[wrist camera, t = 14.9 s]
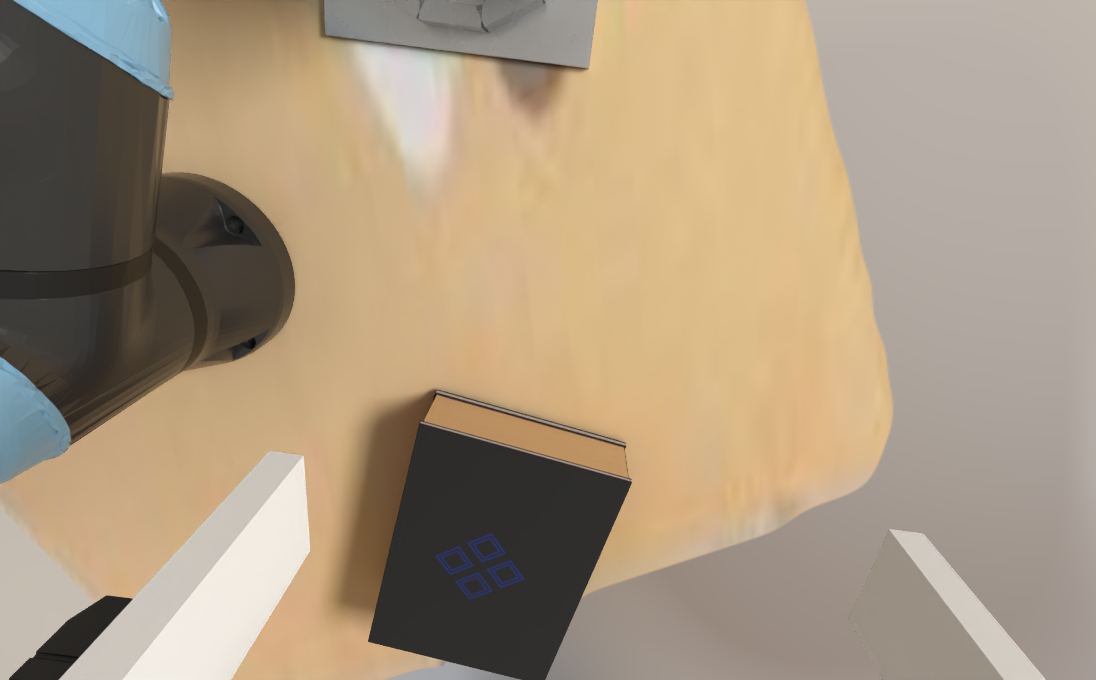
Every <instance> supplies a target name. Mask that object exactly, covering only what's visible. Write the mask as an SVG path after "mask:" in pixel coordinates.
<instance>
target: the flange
mask: <svg viewBox="0 0 1096 680" xmlns="http://www.w3.org/2000/svg"><path fill="white" fill-rule="evenodd" d="M597 2H598V0H324V17H325V35H328V36H334V37H342V38H350V39H358V40H366V41H374V42H381V43H389V44H397V45H405V46H413V47H421V48H429V49H436V50H444V51H452V52H460V53H468V54H476V55H484V56H492V57H499V58H507V59H515V60H523V61H531V62H539V63H547V64H554V65H562V66H570V67H578V68H586V69H589V63H590V55H591V48H592V40H593V32H594V25H595V17H596V10H597Z"/></svg>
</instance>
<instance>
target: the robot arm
mask: <svg viewBox="0 0 1096 680" xmlns="http://www.w3.org/2000/svg"><path fill="white" fill-rule="evenodd" d="M171 34H172V28H171V21H170V17H169V14H168V12H167V10H166V8H165V6H164V4H163V2H162V1H161V0H0V484H1V483H4V482H6V481H8V480H10V479H12V478H14V477H15V476H17V475H19V474H21V473H22V472H24V471H26V470H28V469H29V468H31V467H33V466H35V465H36V464H38V463H40V462H42V461H44V460H47V459H51V458H55V457H57V456H59V455H61V454H62V453H64V452H65V451H66V450H67V449H68V447H69V446H70V445H72V444H73V443H75V442H76V441H78V440H79V439H81V438H82V437H84V436H85V435H87V434H88V433H90V432H91V431H93V430H94V429H96V428H97V427H99V426H100V425H102V424H103V423H105V422H106V421H108V420H109V419H111V418H112V417H114V416H115V415H117V414H118V413H120V412H121V411H123V410H124V409H126V408H127V407H129V406H130V405H132V404H133V403H135V402H136V401H138V400H139V399H141V398H142V397H144V396H145V395H147V394H148V393H150V392H151V391H153V390H154V389H156V388H157V387H159V386H160V385H162V384H164V383H165V382H167V381H168V380H170V379H171V378H173V377H174V376H176V375H177V374H179V373H180V372H182V371H186V370H191V369H196V368H201V367H207V366H212V365H217V364H223V363H228V362H232V361H235V360H238V359H241V358H243V357H245V356H247V355H249V354H251V353H253V352H254V351H256V350H257V349H259V348H260V347H261V346H263V345H264V344H266V343H267V342H268V341H270V340H271V339H272V338H273V337H275V336H276V335H277V334H278V332H279V331H280V330H281V329H282V328H283V326H284V324H285V323H286V321H287V319H288V317H289V315H290V312H291V309H292V306H293V301H294V294H295V280H294V272H293V267H292V263H291V259H290V256H289V253H288V251H287V249H286V246H285V244H284V242H283V240H282V238H281V237H280V235H279V233H278V232H277V230H276V229H275V227H274V226H273V224H272V223H271V222H270V220H269V219H268V218H267V217H266V216H265V214H264V213H263V212H262V211H261V210H260V209H259V208H258V207H257V206H256V205H255V204H253V203H252V202H251V201H250V200H249V199H247V198H246V197H245V196H243V195H242V194H241V193H239V192H238V191H236V190H234V189H233V188H231V187H229V186H227V185H225V184H223V183H221V182H219V181H216V180H214V179H211V178H208V177H205V176H201V175H197V174H191V173H165V174H162V165H163V156H164V146H165V137H166V127H167V118H168V108H169V100H173V98H174V92H173V90H172V88H171V86H170V85H169V82H170V58H171ZM309 552H310V541H309V527H308V512H307V498H306V484H305V469H304V455H296V454H288V453H280V452H272V451H269V452H268V453H267V454H266V455H265V456H264V457H263V459H262V460H261V461H260V462H259V463H258V464H257V465H256V466H255V467H254V468H253V469H252V470H251V472H250V473H249V474H248V475H247V476H246V477H245V478H244V479H243V480H242V481H241V482H240V484H239V485H238V486H237V487H236V488H235V489H234V490H233V491H232V492H231V493H230V494H229V495H228V497H227V498H226V499H225V500H224V501H223V502H222V503H221V504H220V505H219V506H218V507H217V508H216V510H215V511H214V512H213V513H212V514H211V515H210V516H209V517H208V518H207V519H206V520H205V522H204V523H203V524H202V525H201V526H200V527H199V528H198V529H197V530H196V531H195V532H194V533H193V535H192V536H191V537H190V538H189V539H188V540H187V541H186V542H185V543H184V544H183V545H182V547H181V548H180V549H179V550H178V551H177V552H176V553H175V554H174V555H173V556H172V557H171V558H170V560H169V561H168V562H167V563H166V564H165V565H164V566H163V567H162V568H161V569H160V570H159V571H158V573H157V574H156V575H155V576H154V577H153V578H152V579H151V580H150V581H149V582H148V583H147V585H146V586H145V587H144V588H143V589H142V590H141V591H140V592H139V593H138V594H137V595H136V596H135V598H134V599H131V598H123V597H115V596H105V597H103V598H102V599H100V600H99V601H97V602H96V603H94V604H93V605H91V606H89V607H88V608H86V609H85V610H83V611H82V612H80V613H79V614H77V615H76V616H74V617H72V618H71V619H69V620H68V621H67V622H66V623H65V624H64V625H63V626H62V627H61V628H60V629H59V630H58V631H57V632H56V633H55V634H54V635H53V636H52V637H51V638H50V639H49V640H48V641H46V643H44V644H43V645H42V646H41V648H39V649H38V650H37V652H36V655H35V656H34V657H33V658H30V659H28V661H26V662H25V663H24V664H23V665H22V667H20V668H19V669H18V670H17V671H16V672H15V673H14V674H13V675H12V676H11V677H10V678H9V680H231V679H232V677H233V675H234V674H235V672H236V670H237V669H238V667H239V666H240V664H241V662H242V661H243V659H244V657H245V656H246V654H247V653H248V651H249V649H250V648H251V646H252V644H253V643H254V641H255V640H256V638H257V636H258V635H259V633H260V631H261V630H262V628H263V626H264V625H265V623H266V622H267V620H268V618H269V617H270V615H271V613H272V612H273V610H274V609H275V607H276V605H277V604H278V602H279V600H280V599H281V597H282V596H283V594H284V592H285V591H286V589H287V587H288V586H289V584H290V583H291V581H292V579H293V578H294V576H295V574H296V573H297V571H298V569H299V568H300V566H301V565H302V563H303V561H304V560H305V558H306V556H307V555H308V553H309ZM848 619H849V621H850V623H851V624H852V626H853V628H854V630H855V632H856V633H857V635H858V637H859V639H860V641H861V643H862V644H863V646H864V648H865V650H866V652H867V654H868V656H869V657H870V659H871V661H872V663H873V665H874V667H875V668H876V670H877V672H878V674H879V676H880V677H881V679H882V680H1046V679H1045V678H1044V677H1043V676H1042V675H1041V673H1040V672H1039V671H1038V670H1037V669H1036V667H1035V666H1034V665H1033V664H1032V663H1031V662H1030V660H1029V659H1028V658H1027V657H1026V656H1025V655H1024V653H1023V652H1022V651H1021V650H1020V648H1019V647H1018V646H1017V645H1016V644H1015V642H1014V641H1013V640H1012V639H1011V638H1010V636H1009V635H1008V634H1007V633H1006V632H1005V631H1004V630H1003V628H1002V627H1001V626H1000V625H999V623H998V622H997V621H996V620H995V619H994V618H993V616H992V615H991V614H990V613H989V611H988V610H987V609H986V608H985V607H984V606H983V604H982V603H981V602H980V601H979V600H978V598H977V597H976V596H975V595H974V594H973V592H972V591H971V590H970V589H969V588H968V586H967V585H966V584H965V583H964V582H963V580H962V579H961V578H960V577H959V576H958V574H957V573H956V572H955V571H954V570H953V569H952V567H951V566H950V565H949V564H948V563H947V561H946V560H945V559H944V558H943V557H942V555H941V554H940V553H939V552H938V551H937V549H936V548H935V547H934V546H933V545H932V543H931V542H930V541H929V540H928V539H927V538H926V536H925V535H924V534H922V533H914V532H906V531H899V530H891V529H890V530H889V531H888V533H887V535H886V537H885V539H884V541H883V544H882V546H881V548H880V550H879V552H878V555H877V557H876V559H875V561H874V563H873V565H872V568H871V570H870V572H869V574H868V576H867V578H866V580H865V583H864V585H863V587H862V589H861V591H860V594H859V596H858V598H857V600H856V602H855V604H854V607H853V609H852V611H851V613H850V615H849V618H848Z"/></svg>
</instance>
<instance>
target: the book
mask: <svg viewBox="0 0 1096 680" xmlns="http://www.w3.org/2000/svg"><path fill="white" fill-rule="evenodd" d="M625 444H626V443H625V442H621V441H618V440H614V439H611V438H607V437H604V436H600V435H597V434H593V433H589V432H586V431H582V430H579V429H575V428H572V427H568V426H565V425H561V424H558V423H554V422H550V421H547V420H543V419H540V418H536V417H533V416H529V415H526V414H522V413H519V412H515V411H511V410H508V409H504V408H501V407H497V406H494V405H490V404H487V403H483V402H480V401H476V400H472V399H469V398H465V397H462V396H458V395H455V394H451V393H448V392H444V391H441V390H436V392H435V395H434V400H433V404H432V406H431V408H430V410H429V412H428V414H427V416H426V418H425V420H424V421H421V422H420V423H419V428H418V432H417V436H416V440H415V444H414V449H413V453H412V457H411V461H410V466H409V470H408V474H407V478H406V483H405V487H404V491H403V495H402V500H401V504H400V508H399V512H398V516H397V521H396V525H395V529H394V533H393V538H392V542H391V546H390V550H389V555H388V559H387V563H386V567H385V572H384V576H383V580H382V584H381V588H380V593H379V597H378V601H377V605H376V610H375V614H374V618H373V622H372V627H371V631H370V635H369V639H368V642H371V643H375V644H379V645H383V646H387V647H391V648H396V649H400V650H404V651H408V652H412V653H416V654H420V655H424V656H428V657H432V658H436V659H440V660H444V661H448V662H452V663H456V664H460V665H464V666H468V667H472V668H477V669H480V670H485V671H489V672H493V673H497V674H501V675H505V676H509V677H513V678H517V679H521V680H545V679H546V677H547V674H548V672H549V670H550V667H551V665H552V663H553V661H554V658H555V656H556V654H557V651H558V649H559V647H560V645H561V643H562V640H563V638H564V636H565V633H566V631H567V629H568V627H569V624H570V622H571V620H572V617H573V615H574V613H575V611H576V608H577V606H578V604H579V602H580V599H581V597H582V595H583V593H584V590H585V588H586V586H587V584H588V581H589V579H590V577H591V574H592V572H593V570H594V568H595V565H596V563H597V561H598V559H599V556H600V554H601V552H602V550H603V547H604V545H605V543H606V540H607V538H608V536H609V534H610V531H611V529H612V527H613V525H614V522H615V520H616V518H617V515H618V513H619V511H620V509H621V506H622V504H623V502H624V500H625V497H626V495H627V493H628V491H629V488H630V486H631V483H632V482H631V479H630V478H629V476H628V469H627V463H626V456H625V448H626V445H625Z"/></svg>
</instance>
